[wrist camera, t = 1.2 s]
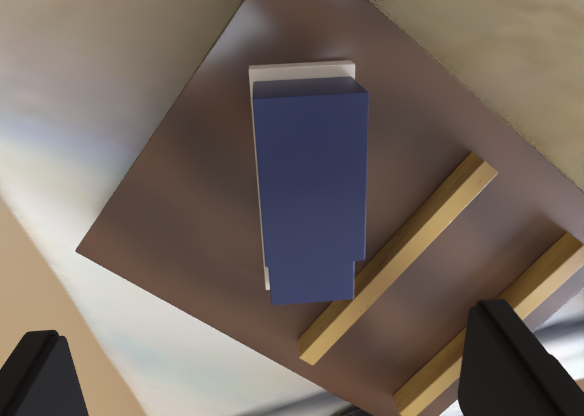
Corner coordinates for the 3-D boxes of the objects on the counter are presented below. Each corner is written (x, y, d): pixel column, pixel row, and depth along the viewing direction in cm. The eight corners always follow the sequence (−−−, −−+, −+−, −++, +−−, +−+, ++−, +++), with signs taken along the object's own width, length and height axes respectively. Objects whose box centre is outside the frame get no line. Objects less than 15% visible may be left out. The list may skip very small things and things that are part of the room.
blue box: (248, 65, 21) (246, 84, 17) (350, 60, 21) (373, 77, 17) (265, 277, 26) (266, 335, 21) (348, 271, 26) (367, 328, 22)
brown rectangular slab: (284, -61, 23) (292, -75, 18) (592, 210, 30) (659, 253, 25) (98, 217, 28) (63, 267, 23) (397, 392, 35) (420, 458, 30)
